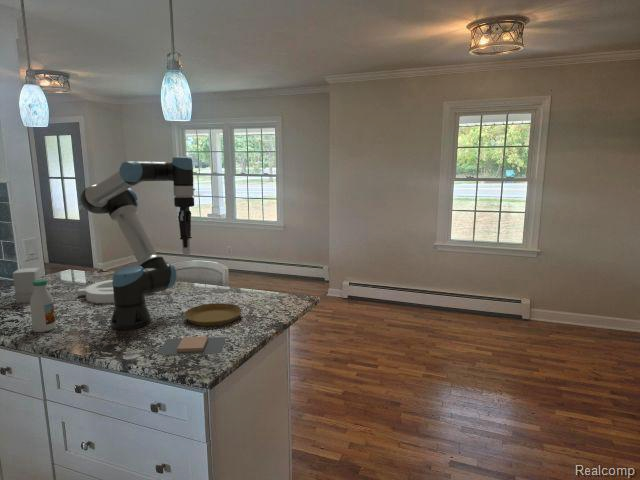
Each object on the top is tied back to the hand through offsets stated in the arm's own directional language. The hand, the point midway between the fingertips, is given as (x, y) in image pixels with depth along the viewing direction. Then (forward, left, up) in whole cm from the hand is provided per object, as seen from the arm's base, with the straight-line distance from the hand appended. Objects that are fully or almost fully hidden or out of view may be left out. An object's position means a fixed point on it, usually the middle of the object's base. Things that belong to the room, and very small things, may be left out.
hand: (186, 254), depth 167 cm
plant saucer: (+9, +6, -30) cm, 32 cm away
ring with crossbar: (-45, +44, -30) cm, 70 cm away
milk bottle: (-56, -2, -30) cm, 63 cm away
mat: (+6, -23, -29) cm, 38 cm away
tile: (+6, -18, -28) cm, 34 cm away
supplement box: (-83, +37, -30) cm, 96 cm away
